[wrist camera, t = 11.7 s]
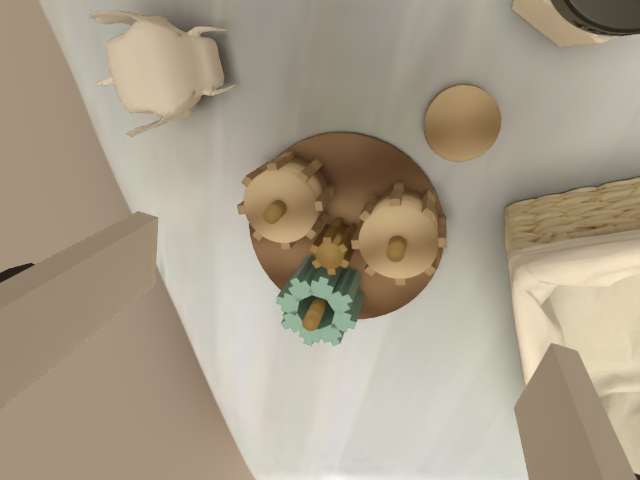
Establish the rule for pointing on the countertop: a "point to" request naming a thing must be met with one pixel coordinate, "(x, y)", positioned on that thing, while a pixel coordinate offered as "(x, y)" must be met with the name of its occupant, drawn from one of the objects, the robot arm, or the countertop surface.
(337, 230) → the carrier
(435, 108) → the stand
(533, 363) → the storage basket
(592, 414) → the robot arm
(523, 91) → the countertop surface
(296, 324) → the gear
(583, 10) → the jar
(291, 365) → the countertop surface
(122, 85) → the elephant figurine
